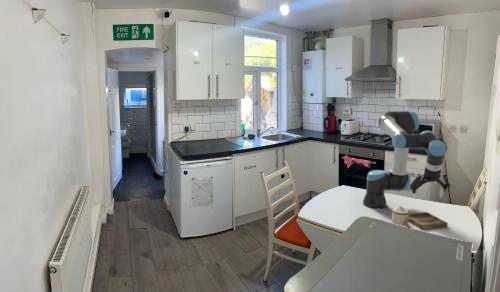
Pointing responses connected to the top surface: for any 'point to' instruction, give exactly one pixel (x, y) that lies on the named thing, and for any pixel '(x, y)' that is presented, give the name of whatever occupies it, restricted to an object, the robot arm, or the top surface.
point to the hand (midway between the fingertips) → (427, 196)
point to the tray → (426, 221)
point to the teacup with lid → (400, 216)
